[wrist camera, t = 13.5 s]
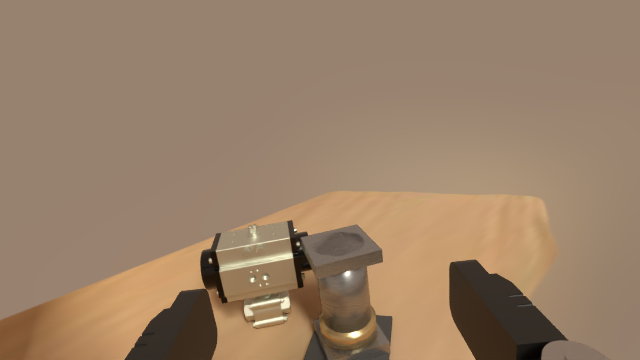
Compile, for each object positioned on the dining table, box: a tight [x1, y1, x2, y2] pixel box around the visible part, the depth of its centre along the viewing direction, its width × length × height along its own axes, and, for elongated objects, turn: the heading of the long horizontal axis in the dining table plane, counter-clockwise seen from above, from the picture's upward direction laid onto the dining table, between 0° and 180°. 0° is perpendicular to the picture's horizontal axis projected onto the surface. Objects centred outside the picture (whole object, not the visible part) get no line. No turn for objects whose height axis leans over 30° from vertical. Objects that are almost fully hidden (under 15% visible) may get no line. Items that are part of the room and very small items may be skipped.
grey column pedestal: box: [301, 225, 390, 360], centre depth 33 cm, size 6×6×11 cm
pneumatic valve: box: [200, 220, 312, 329], centre depth 38 cm, size 6×12×12 cm, turn 99°
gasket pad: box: [304, 315, 392, 360], centre depth 34 cm, size 8×8×1 cm
